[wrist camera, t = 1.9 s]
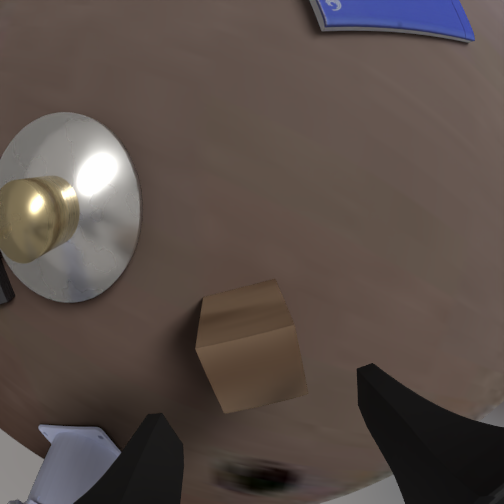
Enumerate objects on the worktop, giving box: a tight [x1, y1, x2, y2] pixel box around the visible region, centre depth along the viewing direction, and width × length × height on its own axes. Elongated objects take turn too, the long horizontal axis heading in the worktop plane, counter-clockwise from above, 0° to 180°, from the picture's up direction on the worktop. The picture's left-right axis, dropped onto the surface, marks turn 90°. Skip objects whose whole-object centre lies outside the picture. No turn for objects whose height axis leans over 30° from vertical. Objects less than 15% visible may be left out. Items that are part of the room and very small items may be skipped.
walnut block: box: [195, 279, 308, 414], centre depth 14 cm, size 4×4×5 cm
